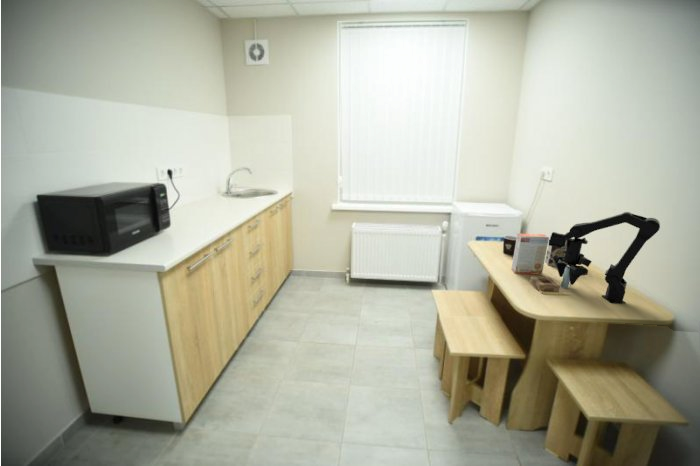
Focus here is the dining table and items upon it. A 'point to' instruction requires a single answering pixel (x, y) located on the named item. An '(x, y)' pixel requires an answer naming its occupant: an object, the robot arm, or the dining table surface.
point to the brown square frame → (544, 284)
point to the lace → (553, 293)
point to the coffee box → (552, 252)
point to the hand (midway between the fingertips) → (566, 280)
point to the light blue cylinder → (566, 278)
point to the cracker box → (529, 253)
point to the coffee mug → (509, 245)
